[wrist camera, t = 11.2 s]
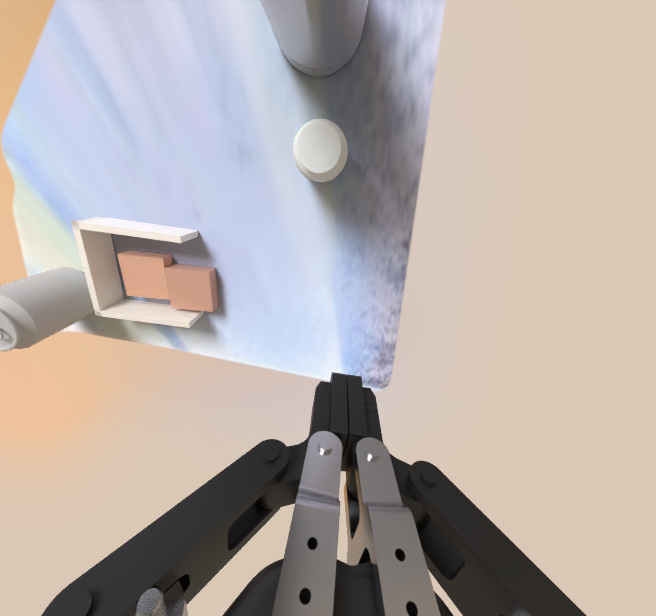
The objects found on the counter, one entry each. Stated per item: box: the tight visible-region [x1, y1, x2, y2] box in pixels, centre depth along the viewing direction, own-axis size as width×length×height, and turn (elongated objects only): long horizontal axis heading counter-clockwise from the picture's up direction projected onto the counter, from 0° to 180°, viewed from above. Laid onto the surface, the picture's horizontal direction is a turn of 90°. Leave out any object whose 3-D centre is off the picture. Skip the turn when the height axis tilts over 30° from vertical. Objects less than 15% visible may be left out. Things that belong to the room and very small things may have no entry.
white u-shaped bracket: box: [71, 217, 204, 328], centre depth 36 cm, size 13×13×4 cm
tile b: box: [165, 264, 219, 312], centre depth 38 cm, size 6×6×2 cm
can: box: [0, 267, 95, 351], centre depth 35 cm, size 8×8×12 cm
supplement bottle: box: [293, 119, 348, 182], centre depth 27 cm, size 5×5×10 cm
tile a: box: [117, 250, 173, 300], centre depth 38 cm, size 6×6×2 cm
